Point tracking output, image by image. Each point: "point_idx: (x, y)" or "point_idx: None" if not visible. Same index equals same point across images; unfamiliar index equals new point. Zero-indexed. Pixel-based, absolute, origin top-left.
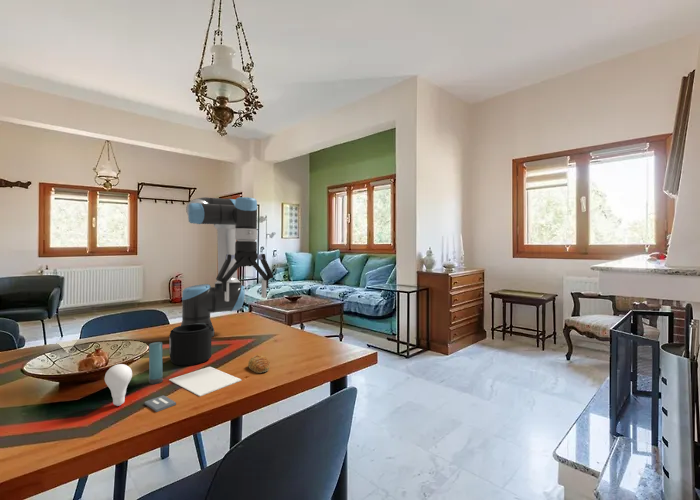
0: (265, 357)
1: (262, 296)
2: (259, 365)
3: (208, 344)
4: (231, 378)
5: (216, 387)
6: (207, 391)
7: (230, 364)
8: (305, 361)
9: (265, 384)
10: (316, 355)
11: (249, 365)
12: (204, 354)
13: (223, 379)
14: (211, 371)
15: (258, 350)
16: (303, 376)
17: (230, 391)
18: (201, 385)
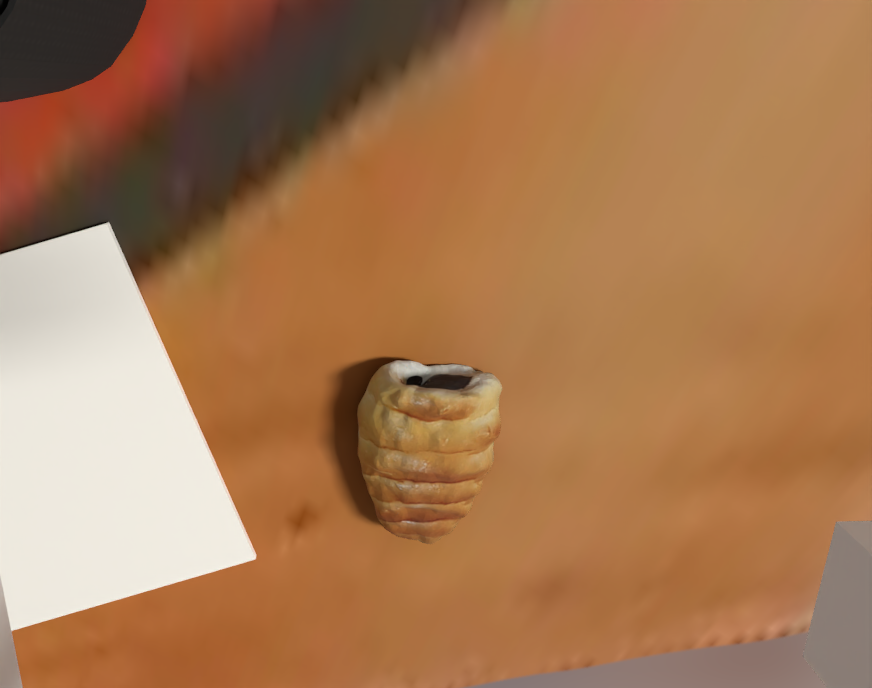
0: (488, 438)
1: (835, 584)
2: (399, 518)
3: (57, 60)
4: (204, 514)
5: (95, 587)
6: (39, 611)
7: (269, 249)
8: (730, 482)
9: (356, 658)
10: (861, 424)
11: (359, 429)
12: (48, 88)
13: (154, 505)
14: (103, 333)
15: (596, 38)
16: (576, 664)
17: (162, 648)
18: (13, 522)
